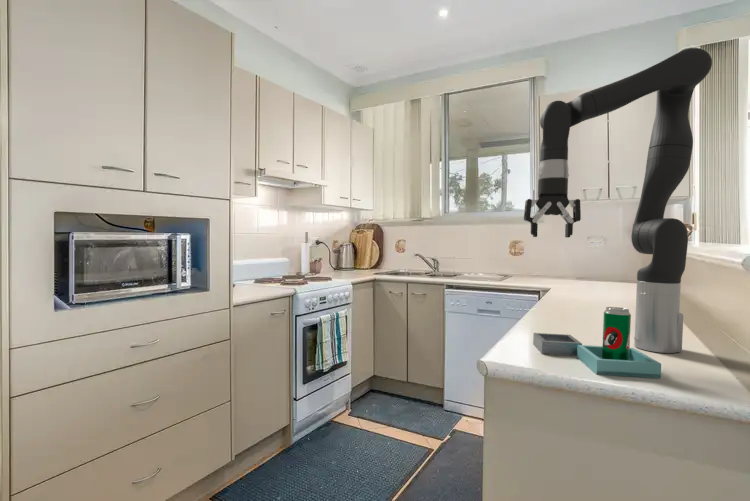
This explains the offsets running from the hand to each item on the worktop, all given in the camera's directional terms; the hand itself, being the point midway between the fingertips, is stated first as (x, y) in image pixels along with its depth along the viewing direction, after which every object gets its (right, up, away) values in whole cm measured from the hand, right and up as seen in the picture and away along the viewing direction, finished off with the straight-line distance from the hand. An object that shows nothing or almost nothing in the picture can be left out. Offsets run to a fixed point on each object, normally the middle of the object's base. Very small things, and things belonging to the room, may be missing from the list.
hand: (551, 237), depth 113 cm
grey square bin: (-3, -28, -11) cm, 31 cm away
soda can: (+4, -28, -24) cm, 37 cm away
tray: (+4, -29, -24) cm, 38 cm away
